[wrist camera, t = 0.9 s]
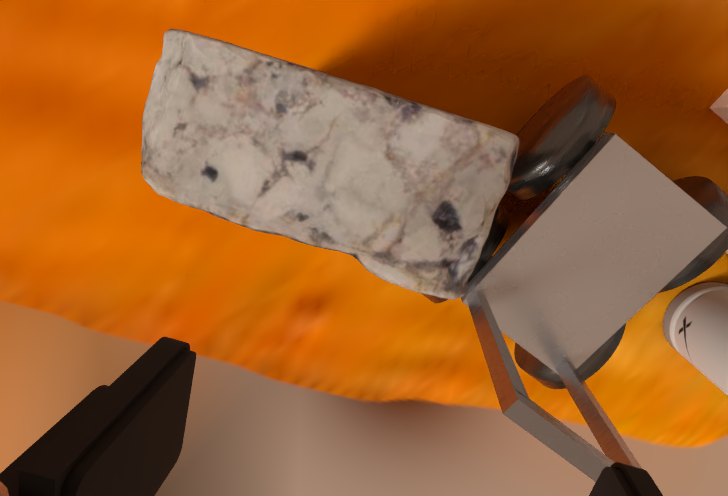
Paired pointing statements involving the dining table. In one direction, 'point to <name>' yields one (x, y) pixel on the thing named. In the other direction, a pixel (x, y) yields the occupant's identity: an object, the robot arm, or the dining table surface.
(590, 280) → the trolley
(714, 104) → the white block
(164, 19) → the dining table surface
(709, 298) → the travel mug
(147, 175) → the stone block
